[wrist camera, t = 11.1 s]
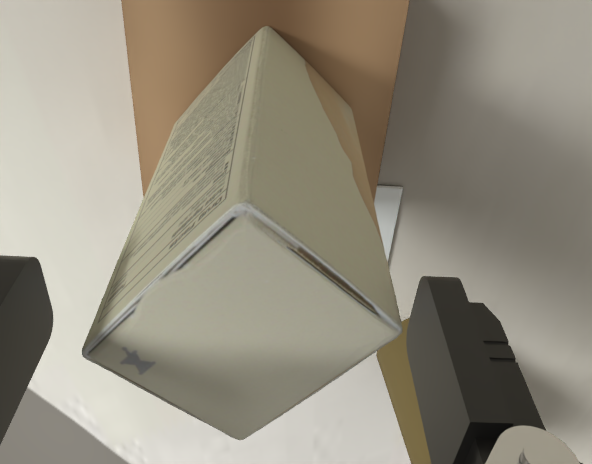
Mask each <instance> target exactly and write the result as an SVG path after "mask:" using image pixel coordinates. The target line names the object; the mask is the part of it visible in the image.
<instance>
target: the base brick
mask: <svg viewBox="0 0 592 464" xmlns="http://www.w3.org/2000/svg"><path fill="white" fill-rule="evenodd" d="M121 1H122V10H123V19H124V28H125V36H126V45H127V54H128V63H129V72H130V81H131V90H132V99H133V107H134V116H135V125H136V134H137V143H138V152H139V161H140V170H141V178H142V187H143V196H145V194H146V191H147V189H148V187H149V184H150V182H151V179H152V177H153V175H154V172H155V170H156V168H157V165H158V163H159V160H160V158H161V156H162V153H163V151H164V148H165V146H166V144H167V141H168V139H169V137H170V134H171V131H172V129H173V126H174V124H175V123H176V121H177V120H178V119H179V118H180V117H181V116H182V114H183V113H184V112H185V111H186V110H187V109H188V107H189V106H190V105H191V104H192V103H193V101H194V100H195V99H196V98H197V97H198V96H199V95H200V93H201V92H202V91H203V90H204V89H205V88H206V87H207V86H208V85H209V83H210V82H211V81H212V80H213V79H214V78H215V77H216V75H217V74H218V73H219V72H220V71H221V70H222V69H223V67H224V66H225V65H226V64H227V63H228V62H229V61H230V60H231V59H232V58H233V57H234V56H235V54H236V53H237V52H238V51H239V50H240V49H241V48H242V47H243V46H244V45H245V44H246V43H247V42H248V41H249V40H250V39H251V38H252V37H253V36H254V35H255V34H256V33H257V32H258V31H259V30H260V29H261V28H262V27H265V26H269V27H271V28H272V29H273V30H274V31H275V32H276V33H277V34H278V35H280V36H281V37H282V38H283V39H284V40H285V41H286V42H287V43H288V44H289V45H290V46H291V47H292V48H293V49H294V50H295V51H296V52H297V53H298V54H299V55H300V56H301V57H302V58H303V59H305V60H306V61H307V62H308V63H309V64H310V65H311V66H312V67H313V68H314V69H315V70H316V71H317V72H318V73H319V74H320V75H321V76H322V77H323V78H324V80H325V81H326V82H327V83H328V84H329V85H330V86H331V87H332V88H333V89H334V90H335V91H336V92H337V93H338V94H339V95H340V96H341V97H342V98H343V100H344V101H345V102H346V103H347V104H348V105H349V106H350V107H351V109H352V112H353V116H354V121H355V125H356V129H357V133H358V137H359V142H360V146H361V151H362V155H363V160H364V164H365V169H366V173H367V178H368V182H369V185H370V189H371V194H372V198H373V202H374V200H375V194H376V189H377V183H378V177H379V172H380V166H381V160H382V154H383V149H384V143H385V137H386V132H387V126H388V120H389V114H390V109H391V103H392V97H393V91H394V86H395V80H396V74H397V69H398V63H399V57H400V51H401V46H402V40H403V34H404V29H405V23H406V17H407V11H408V6H409V0H121Z"/></svg>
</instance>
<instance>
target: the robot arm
mask: <svg viewBox="0 0 592 464" xmlns="http://www.w3.org/2000/svg"><path fill="white" fill-rule="evenodd" d="M52 327H53V311H52V306H51V303H50V299H49V295H48V291H47V288H46V284H45V280H44V276H43V273H42V269H41V265H40V263H39V261H38V259H37V258H35V257H21V256H0V444H1V442H2V440H3V438H4V436H5V433H6V431H7V429H8V427H9V425H10V423H11V421H12V418H13V416H14V414H15V412H16V410H17V408H18V406H19V403H20V401H21V399H22V397H23V395H24V393H25V391H26V389H27V386H28V384H29V382H30V380H31V378H32V376H33V374H34V371H35V369H36V367H37V365H38V363H39V361H40V359H41V356H42V354H43V352H44V350H45V348H46V346H47V344H48V341H49V339H50V336H51V332H52ZM406 346H407V355H408V360H409V364H410V369H411V373H412V378H413V383H414V387H415V392H416V396H417V401H418V405H419V410H420V415H421V419H422V424H423V428H424V433H425V437H426V442H427V446H428V451H429V456H430V460H431V464H582V463H580V462H579V461H578V459H577V457H576V456H575V454H574V453H573V452H572V450H571V449H570V448H569V447H568V446H567V445H566V444H565V443H564V442H563V441H561V440H560V439H559V438H557V437H556V436H554V435H553V434H551V433H549V432H547V431H546V429H545V427H544V425H543V423H542V420H541V418H540V416H539V413H538V411H537V409H536V406H535V404H534V401H533V399H532V397H531V394H530V392H529V389H528V387H527V385H526V382H525V380H524V378H523V375H522V373H521V370H520V368H519V366H518V363H516V362H515V359H516V358H515V356H514V354H513V351H512V349H511V347H510V346H509V345H508V339H507V337H506V335H505V332H504V330H503V327H502V325H501V323H500V321H499V320H498V319H497V318H496V317H495V316H494V314H493V313H492V312H491V311H490V310H489V309H488V308H487V307H486V306H485V305H484V304H483V303H470V302H469V301H468V299H467V296H466V293H465V291H464V288H463V285H462V283H461V281H460V279H459V278H453V277H431V276H423V277H422V278H421V279H420V282H419V285H418V289H417V293H416V297H415V300H414V304H413V308H412V312H411V316H410V319H409V323H408V327H407V337H406Z"/></svg>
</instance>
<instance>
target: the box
mask: <svg viewBox="0 0 592 464" xmlns="http://www.w3.org/2000/svg"><path fill="white" fill-rule="evenodd" d="M402 332H403V328H402V323H401V319H400V315H399V310H398V306H397V302H396V296H395V292H394V288H393V284H392V280H391V276H390V272H389V267H388V262H387V258H386V255H385V250H384V246H383V242H382V237H381V233H380V229H379V225H378V220H377V215H376V211H375V206H374V202H373V198H372V194H371V189H370V185H369V182H368V178H367V173H366V169H365V164H364V160H363V155H362V151H361V146H360V142H359V137H358V133H357V129H356V125H355V121H354V116H353V112H352V109H351V107H350V106H349V105H348V104H347V103H346V102H345V101H344V100H343V98H342V97H341V96H340V95H339V94H338V93H337V92H336V91H335V90H334V89H333V88H332V87H331V86H330V85H329V84H328V83H327V82H326V81H325V80H324V78H323V77H322V76H321V75H320V74H319V73H318V72H317V71H316V70H315V69H314V68H313V67H312V66H311V65H310V64H309V63H308V62H307V61H306V60H305V59H303V58H302V57H301V56H300V55H299V54H298V53H297V52H296V51H295V50H294V49H293V48H292V47H291V46H290V45H289V44H288V43H287V42H286V41H285V40H284V39H283V38H282V37H281V36H280V35H278V34H277V33H276V32H275V31H274V30H273V29H272V28H271V27H269V26H265V27H262V28H261V29H260V30H259V31H258V32H257V33H256V34H255V35H254V36H253V37H252V38H251V39H250V40H249V41H248V42H247V43H246V44H245V45H244V46H243V47H242V48H241V49H240V50H239V51H238V52H237V53H236V54H235V56H234V57H233V58H232V59H231V60H230V61H229V62H228V63H227V64H226V65H225V66H224V67H223V69H222V70H221V71H220V72H219V73H218V74H217V75H216V77H215V78H214V79H213V80H212V81H211V82H210V83H209V85H208V86H207V87H206V88H205V89H204V90H203V91H202V92H201V93H200V95H199V96H198V97H197V98H196V99H195V100H194V101H193V103H192V104H191V105H190V106H189V107H188V109H187V110H186V111H185V112H184V113H183V114H182V116H181V117H180V118H179V119H178V120H177V121H176V123H175V124H174V126H173V129H172V131H171V134H170V137H169V139H168V141H167V144H166V146H165V148H164V151H163V153H162V156H161V158H160V160H159V163H158V165H157V168H156V170H155V172H154V175H153V177H152V179H151V182H150V184H149V187H148V189H147V191H146V194H145V196H144V198H143V201H142V203H141V206H140V209H139V211H138V213H137V216H136V218H135V221H134V223H133V225H132V228H131V230H130V232H129V235H128V237H127V240H126V242H125V245H124V247H123V250H122V252H121V254H120V257H119V259H118V261H117V264H116V267H115V269H114V272H113V274H112V277H111V279H110V282H109V284H108V287H107V289H106V292H105V294H104V297H103V299H102V301H101V304H100V306H99V309H98V311H97V314H96V317H95V319H94V322H93V324H92V326H91V329H90V331H89V334H88V336H87V338H86V341H85V343H84V346H83V348H82V355H83V357H84V358H86V359H87V360H89V361H91V362H93V363H95V364H97V365H99V366H101V367H103V368H104V369H106V370H109V371H111V372H113V373H114V374H116V375H118V376H119V377H121V378H123V379H125V380H127V381H128V382H130V383H132V384H134V385H135V386H137V387H139V388H141V389H143V390H145V391H147V392H148V393H150V394H152V395H154V396H156V397H158V398H160V399H161V400H163V401H165V402H167V403H168V404H170V405H172V406H174V407H176V408H178V409H180V410H182V411H184V412H186V413H187V414H189V415H191V416H193V417H195V418H197V419H199V420H201V421H203V422H205V423H207V424H209V425H211V426H212V427H214V428H216V429H218V430H220V431H222V432H224V433H225V434H227V435H229V436H230V437H232V438H235V439H238V440H243V439H245V438H247V437H248V436H250V435H251V434H253V433H254V432H256V431H258V430H259V429H261V428H263V427H264V426H266V425H267V424H269V423H270V422H272V421H273V420H275V419H277V418H278V417H280V416H281V415H283V414H284V413H286V412H287V411H289V410H290V409H292V408H293V407H295V406H296V405H298V404H300V403H301V402H302V401H304V400H305V399H307V398H309V397H310V396H312V395H313V394H315V393H316V392H318V391H319V390H321V389H322V388H323V387H325V386H326V385H328V384H329V383H331V382H332V381H334V380H335V379H337V378H338V377H340V376H341V375H343V374H344V373H346V372H347V371H348V370H350V369H351V368H353V367H354V366H356V365H357V364H358V363H360V362H361V361H363V360H364V359H366V358H367V357H369V356H370V355H372V354H373V353H374V352H376V351H377V350H379V349H380V348H382V347H383V346H385V345H386V344H388V343H389V342H391V341H392V340H394V339H395V338H397V337H398V336H399V335H400V334H401V333H402Z"/></svg>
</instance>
